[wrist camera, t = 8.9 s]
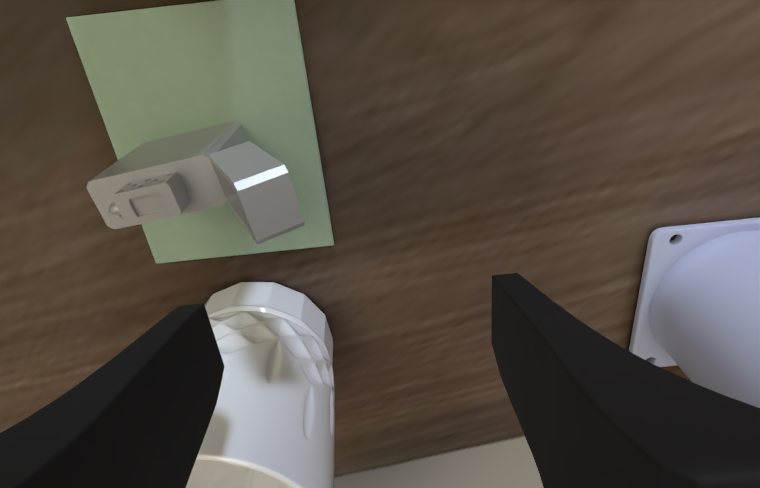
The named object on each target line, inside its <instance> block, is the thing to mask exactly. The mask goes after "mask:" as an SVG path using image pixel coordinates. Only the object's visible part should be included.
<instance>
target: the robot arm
mask: <svg viewBox="0 0 760 488" xmlns="http://www.w3.org/2000/svg"><path fill="white" fill-rule="evenodd" d="M674 235H677V236H676V238H675V239H673V240H671V241H670V239H671V237H672V236H674ZM492 345H493V349H494V353H495V357H496V361H497V364H498V368H499V372H500V375H501V378H502V381H503V383H504V386H505V388H506V391H507V393H508V396H509V398H510V401H511V403H512V406H513V408H514V410H515V413H516V415H517V418H518V420H519V423H520V425H521V427H522V430H523V432H524V435H525V437H526V440H527V442H528V444H529V447H530V449H531V452H532V454H533V457H534V459H535V462H536V465H537V468H538V471H539V473H540V477H541V480H542V483H543V487H544V488H760V217H759V218H749V219H739V220H729V221H720V222H710V223H700V224H690V225H681V226H671V227H662V228H658V229H656V230H654V231H653V232H652V233H651V234H650V237H649V240H648V246H647V251H646V257H645V262H644V268H643V273H642V279H641V284H640V290H639V296H638V301H637V307H636V312H635V318H634V323H633V329H632V334H631V340H630V345H629V351H628V350H626V349H624V348H622V347H620V346H619V345H617V344H615V343H614V342H612V341H610V340H609V339H607V338H605V337H604V336H602V335H601V334H599V333H598V332H596V331H594V330H593V329H591V328H590V327H588V326H587V325H585V324H584V323H582V322H581V321H579V320H578V319H576V318H575V317H574V316H572V315H571V314H569V313H568V312H567V311H565V310H564V309H563V308H561V307H560V306H559V305H557V304H556V303H555V302H553V301H552V300H551V299H549V298H548V297H547V296H546V295H544V294H543V293H542V292H540V291H539V290H538V289H537V288H535V287H534V286H533V285H532V284H530V283H529V282H528V281H527V280H525V279H524V278H523V277H522V276H520V275H519V274H518V273H513V274H503V275H492ZM648 358H649V359H648ZM646 359H648V360H646ZM676 365H678V366H679V367H680V368H681V370H682V371H683V372H684V373H685V374H686V376H687V377H688V378H689V379H690V380H691V381H689V380H686V379H684V378H682V377H680V376H677V375H675V374H673V373H671V372H669V371H666V370H664V369H662V368H660V367H666V366H676ZM224 367H225V366H224V363H223V360H222V357H221V354H220V351H219V348H218V345H217V342H216V339H215V336H214V333H213V330H212V327H211V323H210V320H209V317H208V314H207V311H206V308H205V305H204V304H196V305H186V306H180V307H178V308H177V309H175V310H174V311H172V312H171V313H169V314H168V315H167V316H166V317H164V318H163V319H162V320H160V321H159V322H158V323H157V324H155V325H154V326H153V327H152V328H150V329H149V330H148V331H147V332H146V333H144V334H143V335H142V336H141V337H139V338H138V339H137V340H136V341H134V342H133V343H132V344H131V345H129V346H128V347H127V348H126V349H124V350H123V351H122V352H121V353H119V354H118V355H117V356H116V357H114V358H113V359H112V360H110V361H109V362H108V363H106V364H105V365H104V366H102V367H101V368H100V369H98V370H97V371H96V372H94V373H93V374H91V375H90V376H89V377H87V378H86V379H85V380H83V381H82V382H81V383H79V384H78V385H77V386H75V387H74V388H72V389H71V390H69V391H68V392H67V393H65V394H64V395H62V396H61V397H59V398H58V399H56V400H55V401H53V402H51V403H50V404H48V405H47V406H45V407H44V408H42V409H40V410H39V411H37V412H36V413H34V414H33V415H31V416H29V417H28V418H26V419H24V420H23V421H21V422H19V423H18V424H16V425H14V426H12V427H10V428H9V429H7V430H5V431H3V432H2V433H0V488H186V485H187V482H188V480H189V477H190V474H191V472H192V469H193V466H194V464H195V461H196V458H197V456H198V453H199V450H200V447H201V445H202V442H203V439H204V437H205V434H206V431H207V429H208V426H209V423H210V420H211V418H212V415H213V412H214V409H215V406H216V403H217V400H218V395H219V391H220V387H221V382H222V377H223V372H224Z"/></svg>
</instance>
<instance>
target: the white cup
mask: <svg viewBox="0 0 760 488" xmlns="http://www.w3.org/2000/svg"><path fill="white" fill-rule="evenodd" d="M204 305H205V308H206V311H207V314H208V317H209V320H210V323H211V327H212V330H213V333H214V336H215V339H216V342H217V345H218V348H219V351H220V354H221V357H222V360H223V363H224V366H225V367H224V372H223V377H222V382H221V387H220V391H219V395H218V400H217V403H216V406H215V409H214V412H213V415H212V418H211V420H210V423H209V426H208V429H207V431H206V434H205V437H204V439H203V442H202V445H201V447H200V450H199V453H198V456H197V458H196V461H195V464H194V466H193V469H192V472H191V474H190V477H189V480H188V482H187V485H186V488H334V452H335V411H334V377H333V369H332V363H333V338H332V335H331V332H330V329H329V325H328V322H327V319H326V316H325V314H324V313H323V312H322V311H321V310H320V309H319V308H318V307H317V306H316V305H315V304H314V303H313V302H312V301H311V300H310V299H309V298H308V297H307V296H306V295H305V294H303V293H300V292H298V291H295V290H293V289H290V288H288V287H285V286H283V285H280V284H277V283H275V282H240V283H238V284H235V285H233V286H231V287H228V288H226V289H223V290H221V291H219V292H216V293H214V294H212V296H211V297H210V298H209V299H208V301H207V302H206V303H205V304H204Z"/></svg>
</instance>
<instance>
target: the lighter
mask: <svg viewBox="0 0 760 488" xmlns="http://www.w3.org/2000/svg"><path fill="white" fill-rule="evenodd" d="M86 188H87V190H88V192H89V193H90V195H91V197H92V199H93V201H94V203H95V204H96V206H97V208H98V210H99V212H100V214H101V215H102V217H103V219H104V221H105V223H106V225H107V226H108V227H110V228H112V229H119V228H124V227H128V226H134V225H138V224H143V223H147V222H152V221H156V220H161V219H165V218H169V217H174V216H178V215H182V214H186V213H191V212H195V211H200V210H204V209H209V208H213V207H218V206H222V205H224V204H225V202H226V201H227V203H228V205H229V207H230V208H231V209H232V211H233V212H234V213H235V215H236V216H237V217H238V219H239V220H240V221H241V223H242V224H243V226H244V227H245V228H246V230H247V231H248V232H249V234H250V235H251V236H252V238H253V239H254V240H255V242H256V243H257V245H258V244H261V243H263V242H265V241H268V240H270V239H273V238H275V237H278V236H280V235H282V234H285V233H287V232H290V231H292V230H294V229H297V228H299V227H302V226H304V223H305V221H304V218H303V215H302V212H301V209H300V206H299V203H298V200H297V197H296V194H295V191H294V188H293V185H292V182H291V179H290V176H289V173H288V171H287V169H286V167H285V165H284V164H283V163H281V162H280V161H278V160H277V159H275V158H274V157H272V156H271V155H269V154H268V153H266V152H265V151H263V150H262V149H260V148H259V147H258V146H256V145H255V144H253V143H252V142H250V141H248V142H247V140H246V137H245V134H244V132H243V129H242V126H241V124H239V123H237V122H236V121H234V122H229V123H225V124H221V125H217V126H212V127H208V128H204V129H200V130H196V131H191V132H187V133H183V134H179V135H174V136H170V137H166V138H162V139H158V140H153V141H149V142H145V143H142V144H141V145H140V146H138V147H137V148H135V149H134V150H132V151H131V152H130V153H128V154H127V155H125V156H124V157H123V158H121V159H120V160H118V161H117V162H116V163H114V164H113V165H111V166H110V167H108V168H107V169H106V170H104V171H103V172H101V173H100V174H99V175H97V176H96V177H94V178H93V179H92V180H90V181H89V182H88V185H87V187H86Z"/></svg>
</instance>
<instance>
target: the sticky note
mask: <svg viewBox="0 0 760 488" xmlns="http://www.w3.org/2000/svg"><path fill="white" fill-rule="evenodd" d="M66 20H67V23H68V25H69V28H70V31H71V34H72V36H73V39H74V42H75V44H76V47H77V50H78V53H79V55H80V58H81V61H82V64H83V66H84V69H85V72H86V74H87V77H88V80H89V83H90V85H91V88H92V91H93V93H94V96H95V99H96V102H97V104H98V107H99V110H100V112H101V115H102V118H103V121H104V123H105V126H106V129H107V132H108V134H109V137H110V140H111V142H112V145H113V148H114V151H115V153H116V156H117V159H118V160H120V159H121V158H123V157H124V156H125V155H127V154H128V153H130V152H131V151H132V150H134V149H135V148H137V147H138V146H140V145H141V144H142V143H145V142H149V141H153V140H158V139H162V138H166V137H170V136H174V135H179V134H183V133H187V132H191V131H196V130H200V129H204V128H208V127H212V126H217V125H221V124H225V123H229V122H234V121H236V122H237V123H239V124H241V126H242V129H243V132H244V134H245V137H246V140H247V142H248V141H250V142H252V143H253V144H255V145H256V146H258V147H259V148H260V149H262V150H263V151H265V152H266V153H268V154H269V155H271V156H272V157H274V158H275V159H277V160H278V161H280V162H281V163H283V164H284V165H285V167H286V169H287V171H288V173H289V176H290V179H291V182H292V185H293V188H294V191H295V194H296V197H297V200H298V203H299V206H300V209H301V212H302V215H303V218H304V221H305V223H304V226H302V227H299V228H297V229H294V230H292V231H290V232H287V233H285V234H282V235H280V236H278V237H275V238H273V239H270V240H268V241H265V242H263V243H261V244H258V245H257V243H256V242H255V240H254V239H253V238H252V236H251V235H250V234H249V232H248V231H247V230H246V228H245V227H244V226H243V224H242V223H241V221H240V220H239V219H238V217H237V216H236V215H235V213H234V212H233V211H232V209H231V208H230V207H229V205H228V203H227V201H226V202H225V204H224V205H222V206H218V207H213V208H209V209H204V210H200V211H195V212H191V213H186V214H182V215H178V216H174V217H169V218H165V219H161V220H156V221H152V222H147V223H143V224H142V227H143V230H144V232H145V235H146V238H147V240H148V243H149V246H150V249H151V251H152V254H153V257H154V259H155V262H156V264H158V263H167V262H177V261H187V260H196V259H206V258H216V257H226V256H235V255H245V254H255V253H264V252H274V251H284V250H293V249H303V248H313V247H323V246H332V245H334V238H333V232H332V226H331V220H330V214H329V208H328V202H327V195H326V189H325V183H324V177H323V171H322V165H321V159H320V153H319V147H318V140H317V134H316V128H315V122H314V116H313V110H312V104H311V98H310V92H309V85H308V79H307V73H306V67H305V61H304V55H303V49H302V43H301V37H300V30H299V24H298V18H297V12H296V6H295V0H216V1H207V2H198V3H190V4H181V5H172V6H163V7H154V8H146V9H137V10H128V11H119V12H110V13H102V14H93V15H84V16H75V17H67V18H66Z"/></svg>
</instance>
